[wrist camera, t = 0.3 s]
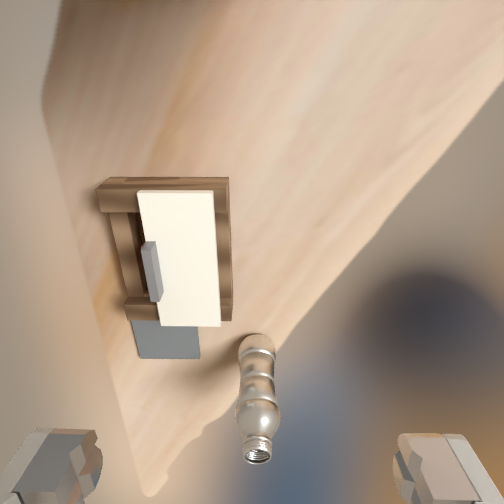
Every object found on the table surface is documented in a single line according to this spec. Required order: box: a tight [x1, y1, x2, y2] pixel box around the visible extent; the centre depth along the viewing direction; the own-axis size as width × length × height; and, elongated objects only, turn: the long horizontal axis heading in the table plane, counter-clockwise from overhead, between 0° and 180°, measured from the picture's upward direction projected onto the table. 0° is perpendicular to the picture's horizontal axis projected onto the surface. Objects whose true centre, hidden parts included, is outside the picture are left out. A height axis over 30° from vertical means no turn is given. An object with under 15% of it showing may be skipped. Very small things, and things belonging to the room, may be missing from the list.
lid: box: [137, 190, 221, 327], centre depth 44 cm, size 21×9×3 cm, turn 0°
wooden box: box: [95, 177, 233, 321], centre depth 48 cm, size 21×16×5 cm
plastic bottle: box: [235, 334, 281, 464], centre depth 52 cm, size 6×7×20 cm
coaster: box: [131, 320, 200, 359], centre depth 59 cm, size 11×11×1 cm
